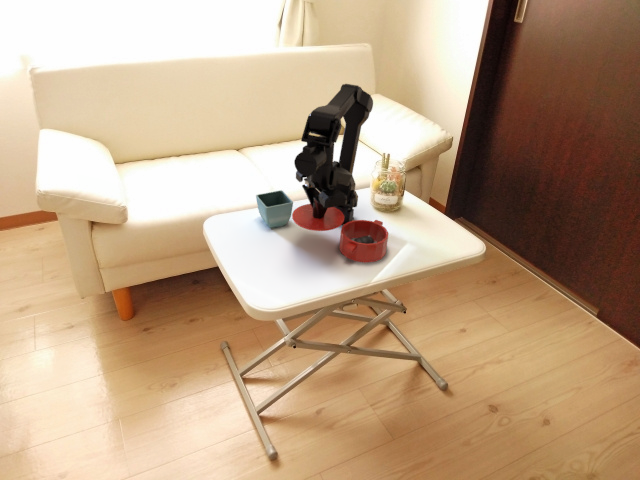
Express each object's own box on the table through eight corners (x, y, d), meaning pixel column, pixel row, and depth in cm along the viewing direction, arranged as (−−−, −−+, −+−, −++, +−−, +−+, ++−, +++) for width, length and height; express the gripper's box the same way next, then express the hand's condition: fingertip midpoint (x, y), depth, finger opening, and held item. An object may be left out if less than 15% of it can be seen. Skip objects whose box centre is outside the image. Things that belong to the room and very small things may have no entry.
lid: (281, 221, 122) (281, 202, 119) (311, 201, 132) (312, 184, 129) (325, 239, 116) (327, 220, 113) (353, 217, 126) (355, 199, 123)
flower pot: (266, 233, 136) (266, 207, 131) (255, 220, 142) (255, 194, 137) (293, 228, 139) (293, 202, 134) (281, 214, 146) (282, 189, 141)
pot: (325, 257, 127) (327, 238, 124) (358, 229, 140) (360, 211, 137) (367, 274, 121) (370, 254, 118) (396, 244, 135) (400, 225, 131)
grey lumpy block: (356, 255, 128) (357, 242, 126) (349, 248, 131) (350, 235, 129) (375, 250, 131) (377, 238, 128) (368, 243, 134) (370, 231, 131)
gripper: (368, 171, 111) (361, 225, 120) (332, 144, 125) (329, 194, 133) (327, 177, 107) (323, 233, 115) (295, 149, 120) (294, 201, 129)
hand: (318, 214), depth 123 cm, fingers closed on lid, 3 cm apart
